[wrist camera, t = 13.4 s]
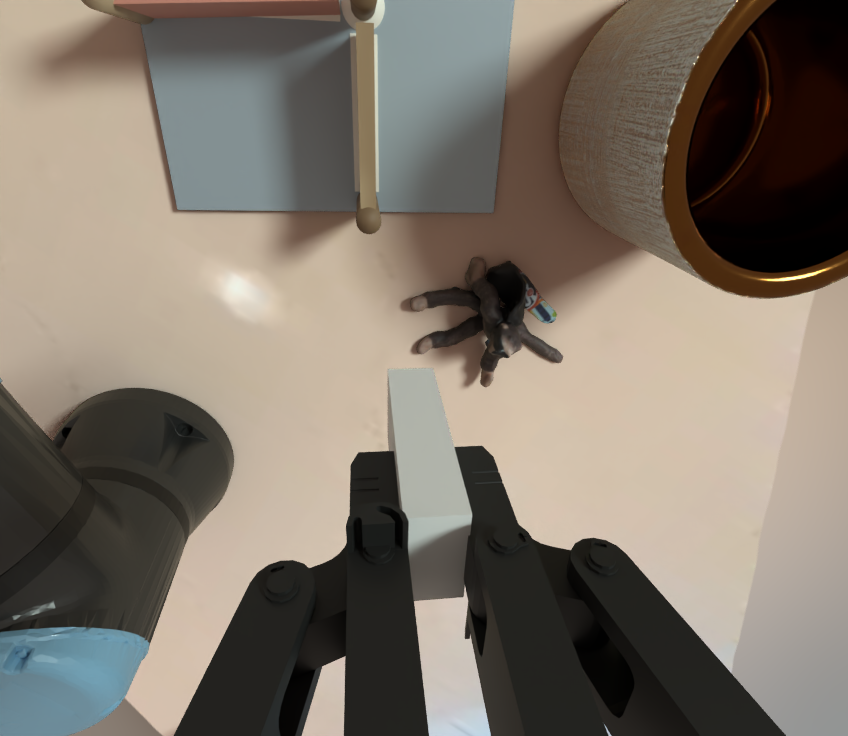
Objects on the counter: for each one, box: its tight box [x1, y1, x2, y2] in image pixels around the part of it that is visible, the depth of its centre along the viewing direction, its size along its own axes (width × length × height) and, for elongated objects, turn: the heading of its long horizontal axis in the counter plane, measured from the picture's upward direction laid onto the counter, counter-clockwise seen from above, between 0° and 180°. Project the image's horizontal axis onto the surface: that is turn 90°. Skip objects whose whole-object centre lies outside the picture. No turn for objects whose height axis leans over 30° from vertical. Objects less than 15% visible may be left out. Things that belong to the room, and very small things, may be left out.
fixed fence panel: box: [350, 0, 381, 234], centre depth 33 cm, size 2×14×8 cm, turn 178°
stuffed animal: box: [410, 258, 563, 387], centre depth 45 cm, size 12×10×12 cm
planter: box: [559, 0, 848, 299], centre depth 32 cm, size 18×18×16 cm
